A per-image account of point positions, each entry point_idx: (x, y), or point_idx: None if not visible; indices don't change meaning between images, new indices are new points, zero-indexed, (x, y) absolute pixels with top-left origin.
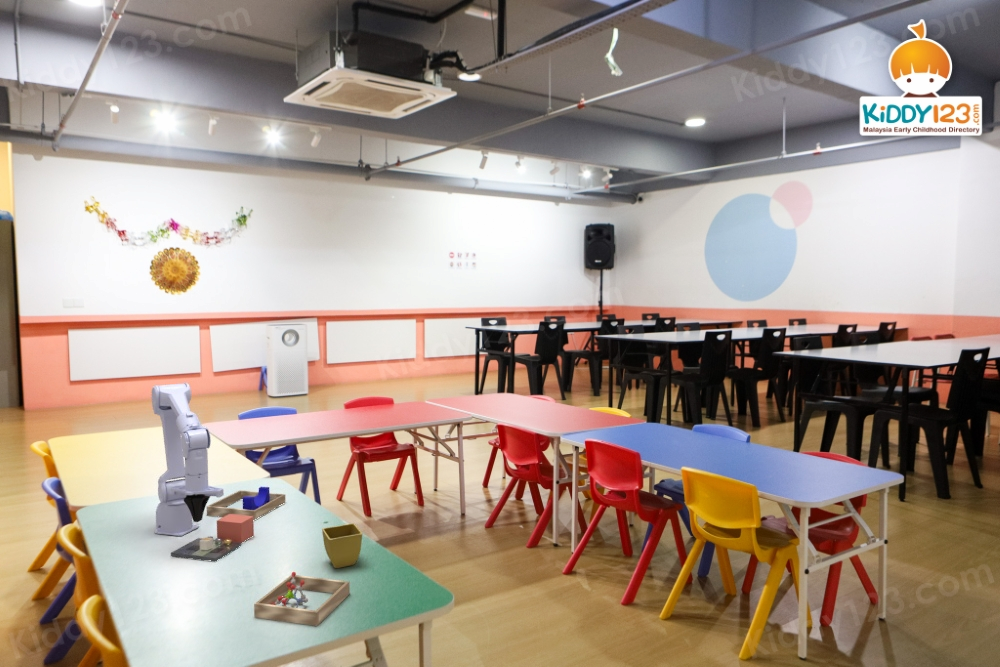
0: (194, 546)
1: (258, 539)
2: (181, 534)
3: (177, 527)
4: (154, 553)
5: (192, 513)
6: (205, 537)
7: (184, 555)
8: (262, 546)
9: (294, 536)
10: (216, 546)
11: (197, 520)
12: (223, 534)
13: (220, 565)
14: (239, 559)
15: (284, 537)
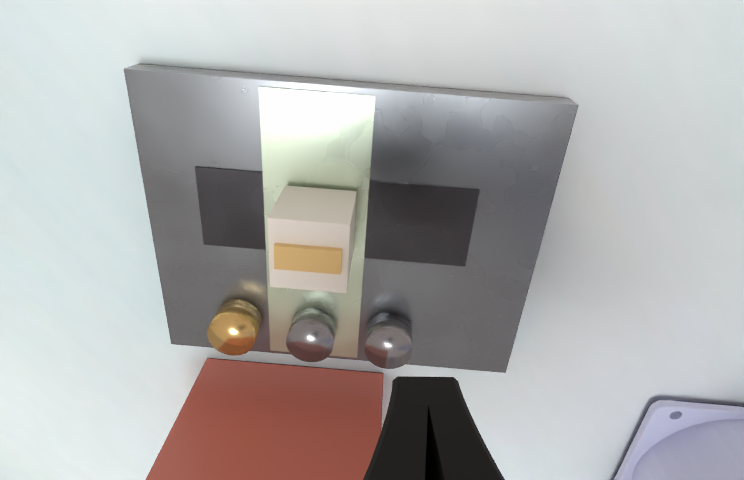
0: (444, 245)
1: (160, 415)
2: (658, 412)
3: (716, 458)
4: (737, 132)
5: (466, 468)
6: (346, 291)
7: (436, 92)
8: (57, 341)
9: (12, 461)
10: None
11: (395, 390)
12: (329, 405)
13: (49, 5)
14: (14, 141)
15: (49, 448)
